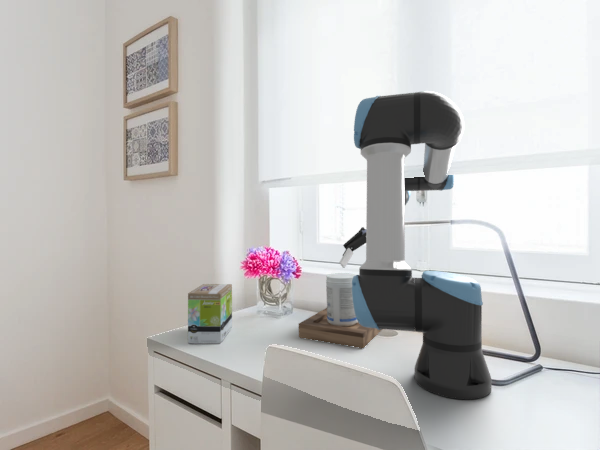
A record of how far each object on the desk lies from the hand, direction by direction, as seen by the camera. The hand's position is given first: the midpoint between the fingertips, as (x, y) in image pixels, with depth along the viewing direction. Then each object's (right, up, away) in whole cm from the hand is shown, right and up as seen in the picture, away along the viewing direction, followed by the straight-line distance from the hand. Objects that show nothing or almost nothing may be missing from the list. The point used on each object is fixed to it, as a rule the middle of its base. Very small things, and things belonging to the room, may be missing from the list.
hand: (357, 267), depth 115 cm
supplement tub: (-5, -17, -5) cm, 18 cm away
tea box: (-46, -21, -5) cm, 50 cm away
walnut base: (-5, -20, -5) cm, 21 cm away
